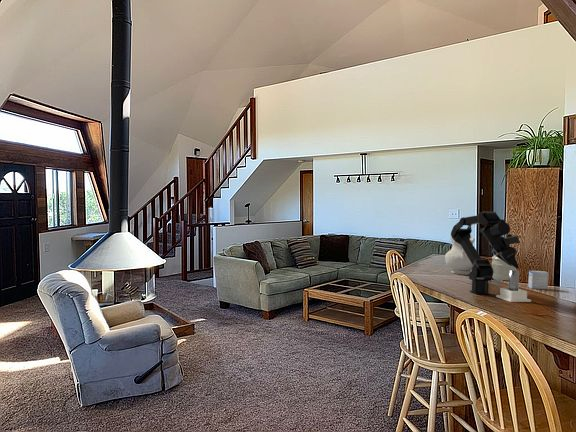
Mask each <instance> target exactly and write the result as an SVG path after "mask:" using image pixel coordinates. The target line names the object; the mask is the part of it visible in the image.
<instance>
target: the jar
mask: <svg viewBox="0 0 576 432" xmlns="http://www.w3.org/2000/svg"><path fill="white" fill-rule="evenodd" d="M496 255H497V254H496ZM496 255H494V254H493V256H492V257H491V259H492V262H490V264H491V265H492V266H491V267H492V268H493V276H492V279H494V280H499V281H509V270H517V269H516V268H515V267H513V266H510V265H508V264H507V263H505V262H504V261H502V260H501V259H499V258H498V257H496ZM516 261H517V258H516Z"/></svg>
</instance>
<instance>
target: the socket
mask: <svg viewBox="0 0 576 432" xmlns="http://www.w3.org/2000/svg"><path fill="white" fill-rule="evenodd" d="M495 298H499V299H501V300H504V301H506V302H511V303H519V302H520V303H529V302H530V303H531V302H532V299H530V298H528V291H527V290H523V289H520V288H519V289H518V291H510V290H508V287H500V290H499V294H496V295H495Z"/></svg>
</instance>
